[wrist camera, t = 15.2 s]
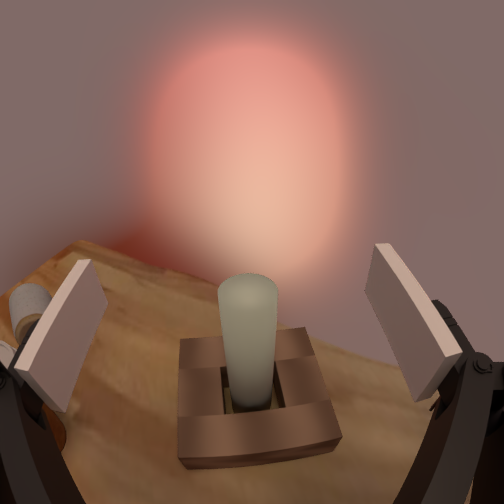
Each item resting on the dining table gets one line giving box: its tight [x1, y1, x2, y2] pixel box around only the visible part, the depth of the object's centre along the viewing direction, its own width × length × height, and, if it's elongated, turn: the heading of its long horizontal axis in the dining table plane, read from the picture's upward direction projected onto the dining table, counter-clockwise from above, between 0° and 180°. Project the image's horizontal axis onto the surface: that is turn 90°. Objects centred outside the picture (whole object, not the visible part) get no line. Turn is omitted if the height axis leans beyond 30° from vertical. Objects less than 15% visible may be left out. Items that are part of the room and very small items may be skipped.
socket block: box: [178, 327, 343, 469], centre depth 27 cm, size 14×14×4 cm
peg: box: [218, 273, 278, 414], centre depth 24 cm, size 4×4×16 cm
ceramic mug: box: [9, 283, 52, 345], centre depth 34 cm, size 11×8×8 cm
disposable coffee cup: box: [0, 341, 66, 452], centre depth 18 cm, size 10×10×12 cm
